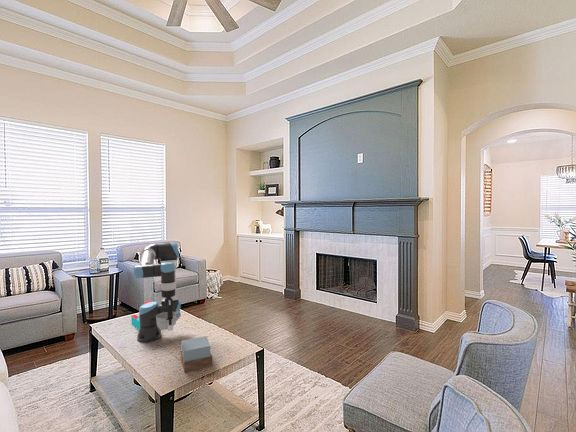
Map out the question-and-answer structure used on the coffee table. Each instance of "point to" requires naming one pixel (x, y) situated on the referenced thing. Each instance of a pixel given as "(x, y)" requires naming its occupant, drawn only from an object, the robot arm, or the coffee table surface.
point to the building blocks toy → (137, 319)
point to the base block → (196, 363)
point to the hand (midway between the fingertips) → (169, 326)
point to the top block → (195, 348)
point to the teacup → (163, 322)
